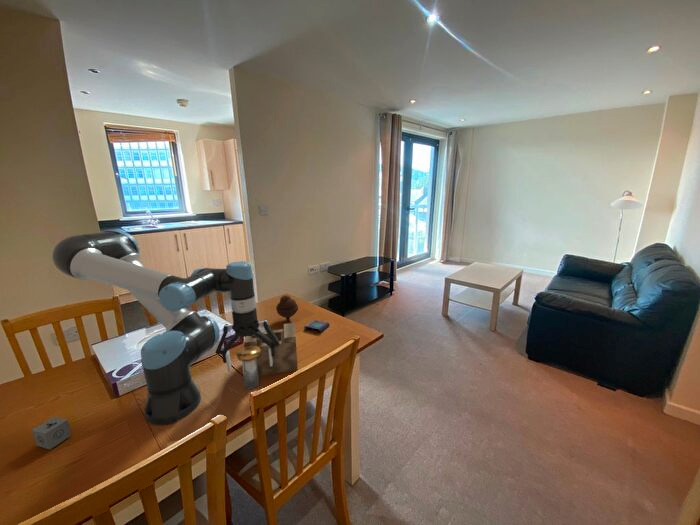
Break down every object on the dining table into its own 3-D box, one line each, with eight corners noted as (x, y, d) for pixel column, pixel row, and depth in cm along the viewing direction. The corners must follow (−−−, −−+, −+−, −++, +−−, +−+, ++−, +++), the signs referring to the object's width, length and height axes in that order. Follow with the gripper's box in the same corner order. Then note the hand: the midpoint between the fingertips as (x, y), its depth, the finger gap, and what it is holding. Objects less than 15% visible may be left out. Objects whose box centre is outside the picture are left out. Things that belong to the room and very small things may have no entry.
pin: (238, 393, 98) (234, 359, 95) (241, 379, 105) (237, 347, 102) (262, 390, 100) (259, 356, 97) (264, 376, 107) (261, 344, 104)
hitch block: (247, 377, 107) (243, 342, 104) (250, 359, 118) (247, 327, 115) (297, 369, 111) (295, 336, 107) (296, 353, 122) (294, 322, 119)
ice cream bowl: (273, 327, 146) (270, 299, 142) (284, 318, 156) (282, 291, 153) (292, 330, 143) (290, 301, 139) (302, 320, 153) (301, 293, 150)
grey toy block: (49, 449, 77) (44, 433, 76) (36, 445, 79) (31, 429, 78) (71, 435, 82) (67, 419, 81) (59, 431, 83) (54, 416, 82)
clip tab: (252, 337, 108) (251, 335, 107) (253, 331, 112) (252, 329, 112) (268, 331, 108) (267, 329, 108) (268, 325, 113) (267, 323, 113)
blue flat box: (303, 325, 140) (315, 318, 149) (303, 331, 140) (315, 323, 150) (320, 329, 136) (331, 321, 145) (320, 335, 136) (331, 327, 146)
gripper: (199, 318, 90) (209, 379, 95) (283, 309, 95) (288, 367, 100) (205, 309, 97) (214, 366, 102) (283, 301, 102) (287, 356, 107)
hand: (250, 367), depth 101 cm, fingers open, 13 cm apart
